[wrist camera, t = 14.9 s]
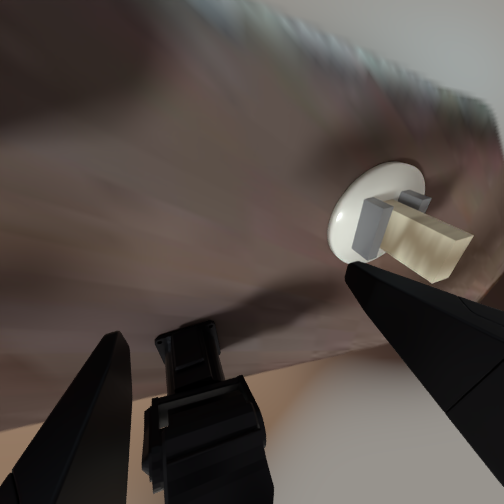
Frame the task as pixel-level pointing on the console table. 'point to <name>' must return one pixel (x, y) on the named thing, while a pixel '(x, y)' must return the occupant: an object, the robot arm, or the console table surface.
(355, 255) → the dish
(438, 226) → the block
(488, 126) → the console table surface
